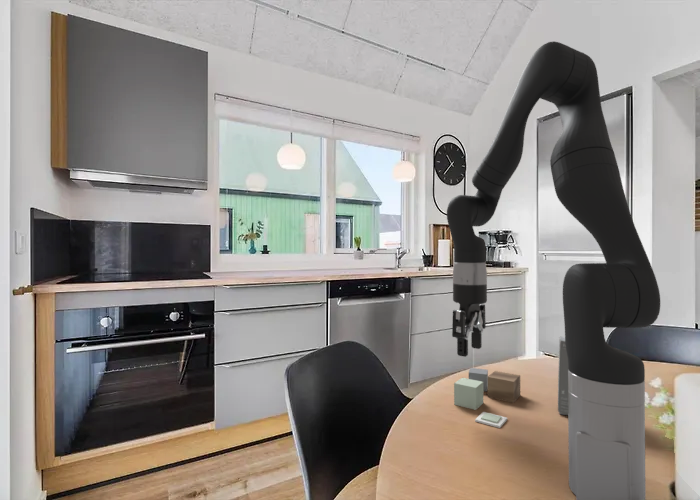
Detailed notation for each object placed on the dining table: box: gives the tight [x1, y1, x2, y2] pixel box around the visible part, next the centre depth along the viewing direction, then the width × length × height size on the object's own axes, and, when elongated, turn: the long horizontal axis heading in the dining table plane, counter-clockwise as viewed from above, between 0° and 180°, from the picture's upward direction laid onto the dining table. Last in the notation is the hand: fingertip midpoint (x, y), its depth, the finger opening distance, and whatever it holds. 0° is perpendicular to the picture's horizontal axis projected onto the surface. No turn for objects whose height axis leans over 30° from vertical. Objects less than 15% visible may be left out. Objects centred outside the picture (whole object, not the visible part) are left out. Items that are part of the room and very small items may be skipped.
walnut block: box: [487, 370, 521, 403], centre depth 94 cm, size 6×6×5 cm
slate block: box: [468, 367, 489, 393], centre depth 100 cm, size 4×4×4 cm
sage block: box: [453, 377, 484, 411], centre depth 90 cm, size 5×5×5 cm
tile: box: [474, 411, 508, 429], centre depth 81 cm, size 5×5×1 cm
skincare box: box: [557, 336, 568, 416], centre depth 85 cm, size 8×7×16 cm
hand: (469, 351), depth 90 cm, fingers open, 8 cm apart
